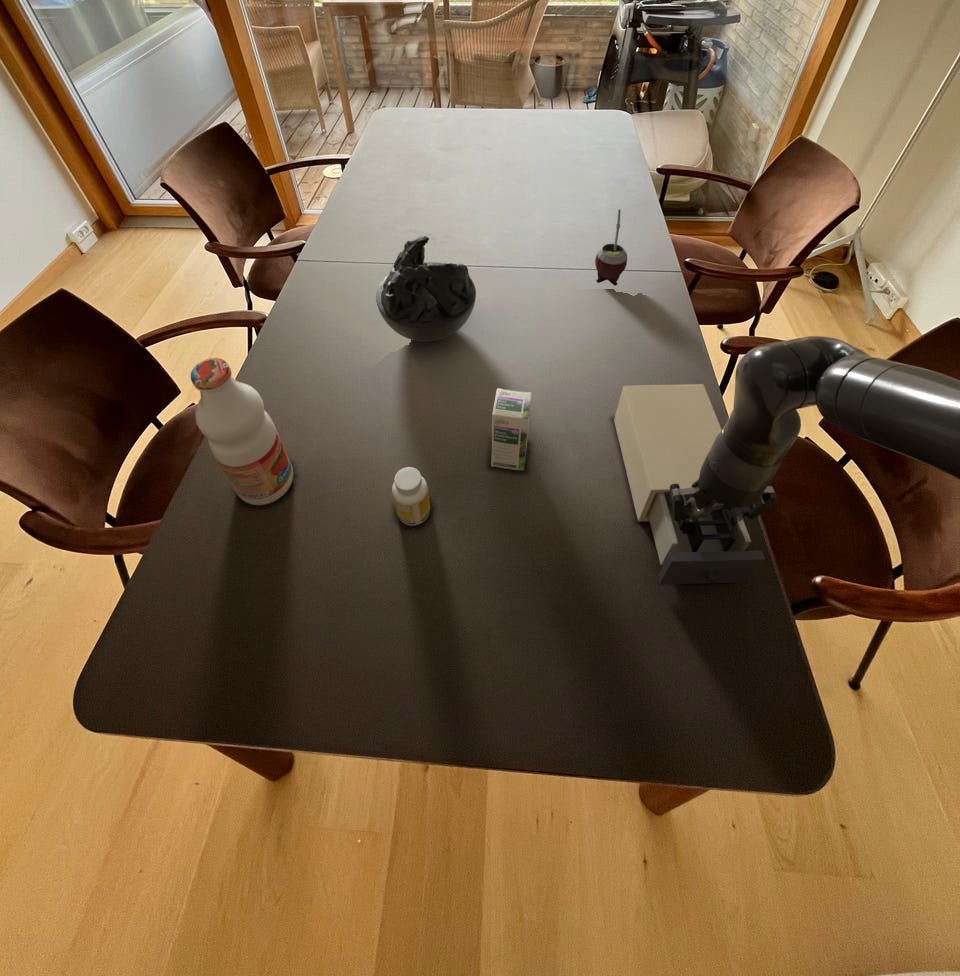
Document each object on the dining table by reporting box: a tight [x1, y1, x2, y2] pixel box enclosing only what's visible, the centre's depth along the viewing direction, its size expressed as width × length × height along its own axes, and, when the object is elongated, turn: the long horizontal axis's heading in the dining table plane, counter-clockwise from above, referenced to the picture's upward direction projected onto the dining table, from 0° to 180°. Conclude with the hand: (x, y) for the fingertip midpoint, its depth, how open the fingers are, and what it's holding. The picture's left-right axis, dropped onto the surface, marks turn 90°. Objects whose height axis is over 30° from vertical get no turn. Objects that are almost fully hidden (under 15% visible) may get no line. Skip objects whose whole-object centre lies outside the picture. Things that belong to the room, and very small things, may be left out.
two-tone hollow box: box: [647, 492, 765, 586], centre depth 86 cm, size 20×13×8 cm, turn 2°
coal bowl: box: [375, 235, 477, 343], centre depth 114 cm, size 20×20×19 cm
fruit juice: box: [190, 357, 294, 506], centre depth 85 cm, size 9×9×28 cm
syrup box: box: [490, 387, 533, 472], centre depth 94 cm, size 6×6×14 cm
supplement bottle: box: [391, 466, 431, 526], centre depth 88 cm, size 5×5×10 cm
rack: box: [687, 507, 736, 552], centre depth 81 cm, size 5×7×4 cm
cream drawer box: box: [613, 383, 723, 523], centre depth 94 cm, size 20×14×10 cm
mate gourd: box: [594, 209, 628, 286], centre depth 128 cm, size 8×8×15 cm
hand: (703, 526), depth 82 cm, fingers closed on rack, 5 cm apart
